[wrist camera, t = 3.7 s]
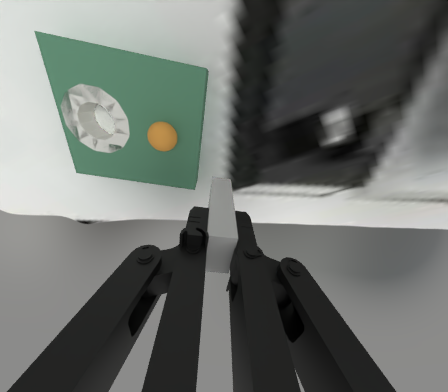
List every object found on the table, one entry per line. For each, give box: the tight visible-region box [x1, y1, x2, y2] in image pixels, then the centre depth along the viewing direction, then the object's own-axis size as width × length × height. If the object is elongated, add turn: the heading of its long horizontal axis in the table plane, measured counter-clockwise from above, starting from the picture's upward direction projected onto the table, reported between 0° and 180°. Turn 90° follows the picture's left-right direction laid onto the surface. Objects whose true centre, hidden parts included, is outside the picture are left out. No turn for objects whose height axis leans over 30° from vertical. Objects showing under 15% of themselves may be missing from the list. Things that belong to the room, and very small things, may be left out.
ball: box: [147, 122, 177, 151], centre depth 24 cm, size 4×4×4 cm
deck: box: [35, 31, 208, 190], centre depth 27 cm, size 18×20×4 cm
